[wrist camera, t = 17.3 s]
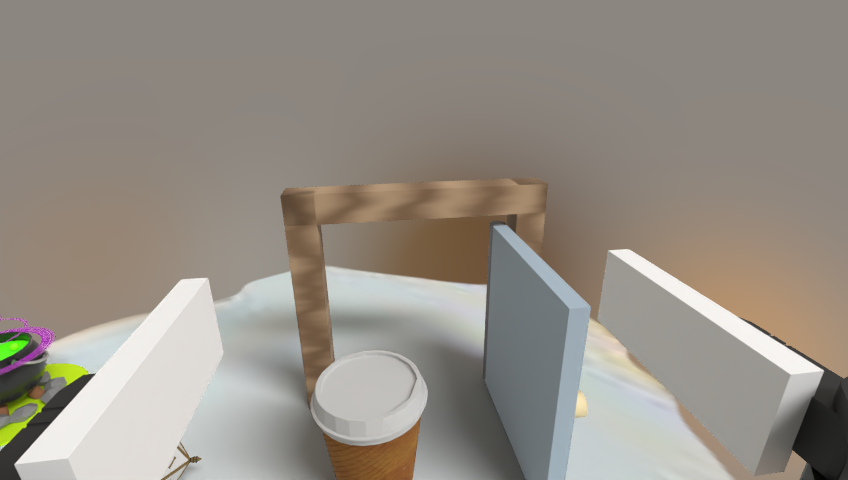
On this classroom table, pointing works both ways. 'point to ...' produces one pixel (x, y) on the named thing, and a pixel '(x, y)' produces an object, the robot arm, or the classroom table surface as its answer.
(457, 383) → the classroom table surface
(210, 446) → the classroom table surface
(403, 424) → the disposable coffee cup
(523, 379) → the door
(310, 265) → the door frame
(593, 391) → the classroom table surface
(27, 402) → the toy cauldron
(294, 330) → the classroom table surface
